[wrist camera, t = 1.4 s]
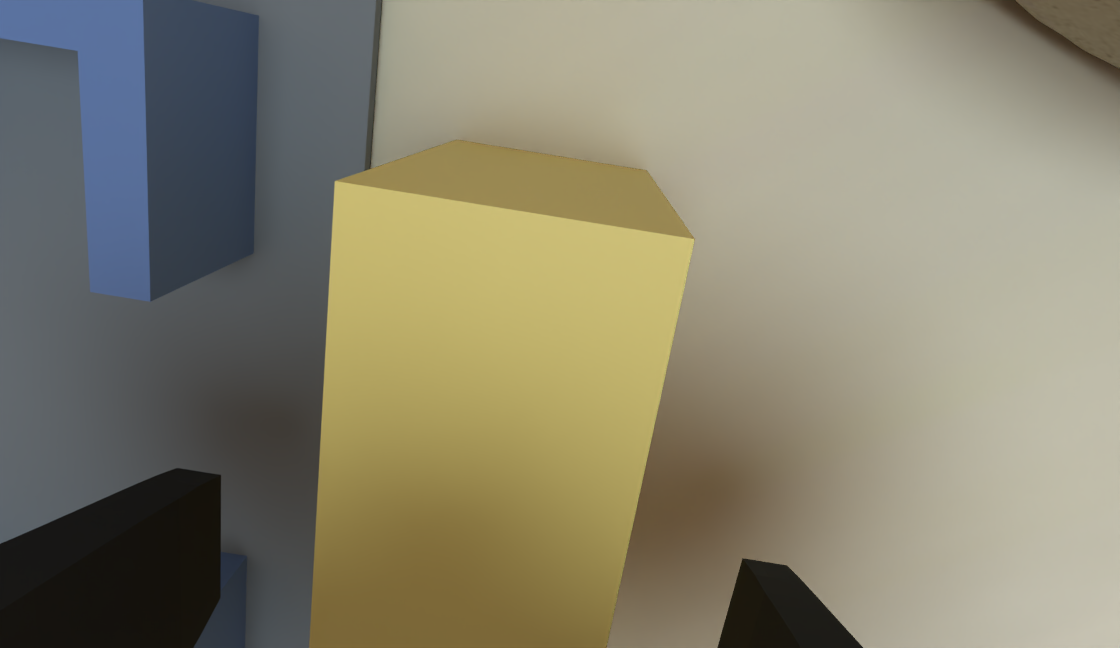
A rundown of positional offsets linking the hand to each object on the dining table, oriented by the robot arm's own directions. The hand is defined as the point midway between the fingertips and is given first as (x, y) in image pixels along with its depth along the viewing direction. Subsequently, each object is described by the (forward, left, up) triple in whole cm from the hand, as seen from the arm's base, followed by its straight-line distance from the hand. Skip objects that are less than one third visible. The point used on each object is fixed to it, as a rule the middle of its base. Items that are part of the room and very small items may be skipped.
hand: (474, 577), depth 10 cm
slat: (0, 0, -4) cm, 4 cm away
